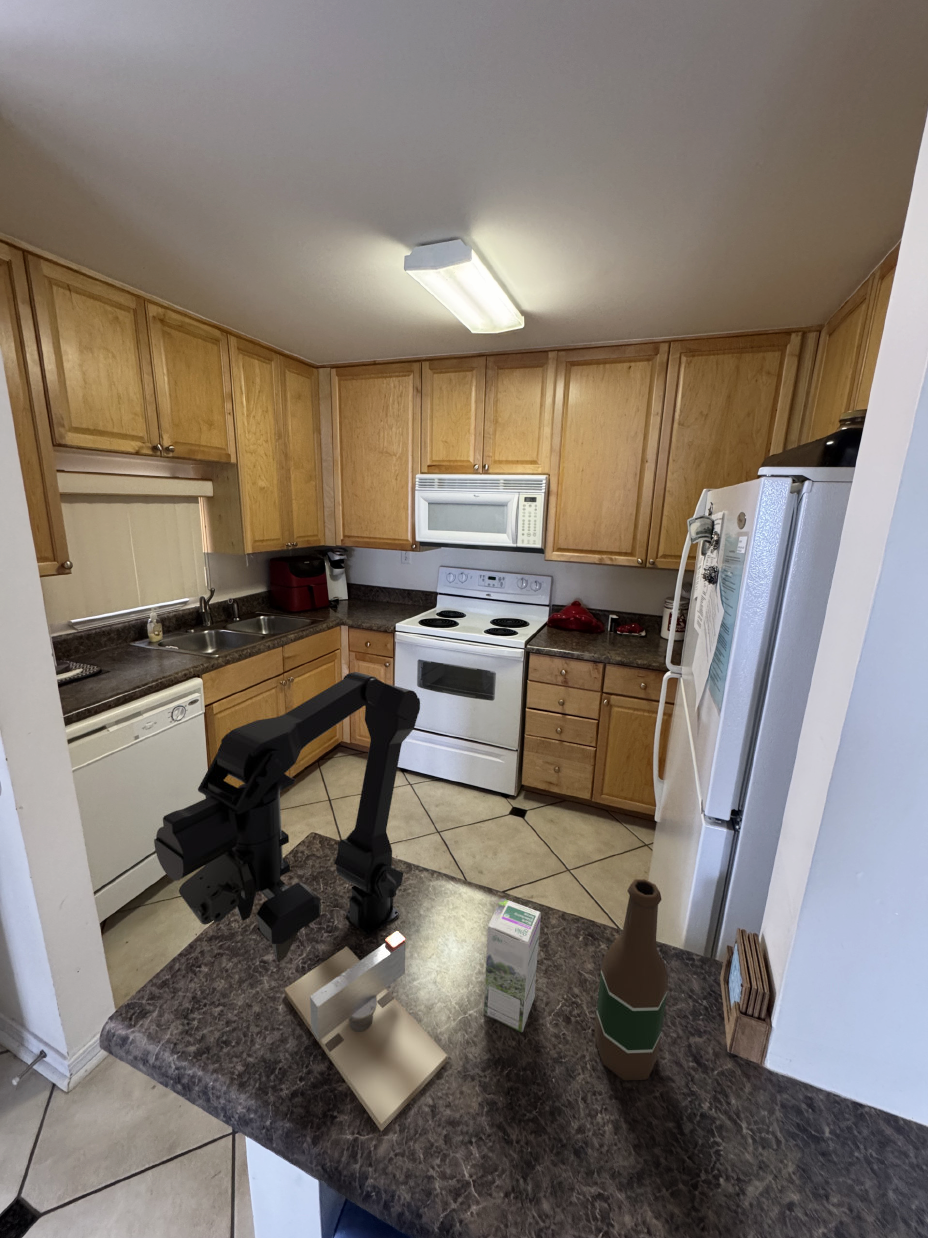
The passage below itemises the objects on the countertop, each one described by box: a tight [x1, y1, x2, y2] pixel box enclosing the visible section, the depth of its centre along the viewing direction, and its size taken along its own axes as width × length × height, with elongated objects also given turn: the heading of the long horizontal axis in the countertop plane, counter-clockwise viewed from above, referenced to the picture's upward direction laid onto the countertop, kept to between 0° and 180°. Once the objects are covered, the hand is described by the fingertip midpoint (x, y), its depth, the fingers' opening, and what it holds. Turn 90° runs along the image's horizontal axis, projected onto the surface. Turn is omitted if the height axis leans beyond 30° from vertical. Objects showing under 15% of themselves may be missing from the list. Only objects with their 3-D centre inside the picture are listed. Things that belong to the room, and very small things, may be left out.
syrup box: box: [483, 898, 542, 1033], centre depth 67 cm, size 6×6×14 cm
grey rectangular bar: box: [310, 931, 406, 1042], centre depth 64 cm, size 4×13×7 cm, turn 135°
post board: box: [284, 946, 448, 1132], centre depth 65 cm, size 10×22×3 cm, turn 46°
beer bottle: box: [594, 878, 669, 1081], centre depth 61 cm, size 8×8×24 cm
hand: (262, 938), depth 64 cm, fingers open, 9 cm apart
